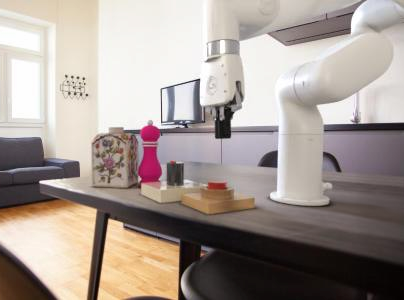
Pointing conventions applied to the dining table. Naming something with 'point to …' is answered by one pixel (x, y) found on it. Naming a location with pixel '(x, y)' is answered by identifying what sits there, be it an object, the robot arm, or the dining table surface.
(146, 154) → the pepper mill
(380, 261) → the dining table surface
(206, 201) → the button block
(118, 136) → the decorative jar
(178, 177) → the dark grey block
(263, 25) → the robot arm
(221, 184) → the button
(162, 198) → the panel
